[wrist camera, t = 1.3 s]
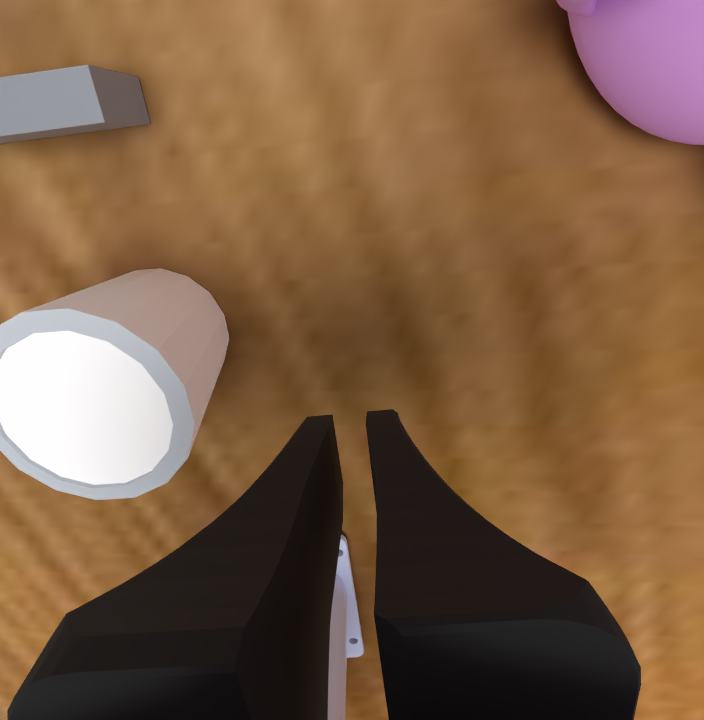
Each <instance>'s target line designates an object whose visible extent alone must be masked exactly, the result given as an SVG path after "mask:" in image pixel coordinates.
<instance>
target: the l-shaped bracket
mask: <svg viewBox="0 0 704 720" xmlns="http://www.w3.org/2000/svg"><path fill="white" fill-rule="evenodd" d="M147 124H150V120H149V116H148V112H147V108H146V105H145V101H144V97H143V93H142V89H141V85H140V81H139V78H138V77H136V76H132V75H128V74H124V73H119V72H115V71H111V70H107V69H103V68H99V67H95V66H91V65H83V66H76V67H69V68H62V69H55V70H48V71H41V72H34V73H27V74H20V75H13V76H6V77H0V144H4V143H12V142H19V141H27V140H34V139H42V138H49V137H57V136H65V135H72V134H80V133H87V132H95V131H102V130H110V129H117V128H125V127H132V126H140V125H147Z"/></svg>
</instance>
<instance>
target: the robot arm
mask: <svg viewBox="0 0 704 720" xmlns="http://www.w3.org/2000/svg"><path fill="white" fill-rule="evenodd" d="M366 429H367V437H368V445H369V453H370V461H371V470H372V478H373V486H374V494H375V502H376V511H377V555H376V585H375V605H374V617H375V624H376V631H377V638H378V646H379V653H380V660H381V667H382V674H383V681H384V688H385V695H386V702H387V709H388V717H389V720H634V715H635V710H636V705H637V701H638V696H639V691H640V686H641V667H640V665H639V663H638V661H637V659H636V657H635V654H634V652H633V650H632V648H631V646H630V644H629V641H628V640H627V638H626V636H625V634H624V633H623V631H622V629H621V628H620V626H619V624H618V623H617V621H616V620H615V618H614V617H613V615H612V614H611V613H610V611H609V610H608V608H607V607H606V605H605V604H604V602H603V601H602V600H601V598H600V597H599V595H598V594H597V593H596V591H595V590H594V588H593V587H592V586H591V584H590V583H589V582H588V581H587V580H586V579H584V578H582V577H580V576H578V575H576V574H574V573H572V572H570V571H568V570H567V569H565V568H563V567H561V566H559V565H557V564H555V563H553V562H551V561H549V560H547V559H545V558H544V557H542V556H540V555H538V554H536V553H535V552H533V551H531V550H530V549H528V548H527V547H525V546H523V545H522V544H520V543H519V542H517V541H515V540H514V539H512V538H511V537H509V536H508V535H506V534H505V533H504V532H502V531H501V530H500V529H498V528H497V527H496V526H494V525H493V524H491V523H490V522H489V521H487V520H486V519H485V518H483V517H482V516H481V515H480V514H479V513H477V512H476V511H475V510H474V509H473V508H472V507H470V506H469V505H468V504H467V503H466V502H465V501H464V500H463V499H462V498H460V497H459V496H458V495H457V494H456V493H455V492H454V491H453V490H452V489H451V488H450V487H449V486H448V485H447V484H446V483H445V482H444V481H443V479H442V478H441V477H440V476H439V475H438V474H437V473H436V471H435V470H434V469H433V468H432V467H431V466H430V464H429V463H428V462H427V461H426V459H425V458H424V457H423V455H422V454H421V453H420V451H419V450H418V449H417V447H416V446H415V445H414V443H413V442H412V440H411V439H410V437H409V435H408V434H407V432H406V430H405V429H404V427H403V425H402V423H401V421H400V419H399V416H398V413H397V412H395V411H394V410H393V409H391V410H380V411H368V412H367V417H366ZM342 523H343V480H342V474H341V467H340V461H339V454H338V448H337V441H336V435H335V428H334V422H333V415H323V416H312V417H307V418H306V419H305V420H304V421H303V423H302V424H301V425H300V427H299V428H298V429H297V431H296V432H295V433H294V435H293V436H292V438H291V439H290V440H289V441H288V443H287V444H286V445H285V447H284V448H283V449H282V451H281V452H280V453H279V454H278V456H277V457H276V458H275V459H274V460H273V462H272V463H271V464H270V465H269V467H268V468H267V469H266V470H265V471H264V472H263V474H262V475H261V476H260V477H259V478H258V479H257V480H256V481H255V482H254V483H253V485H252V486H251V487H250V488H249V489H248V490H247V491H246V492H245V493H244V494H243V495H242V496H241V497H240V498H239V499H238V500H237V501H236V502H235V503H234V504H233V505H231V506H230V507H229V508H228V509H227V510H226V511H225V512H224V513H222V514H221V515H220V516H219V517H218V518H217V519H216V520H214V521H213V522H212V523H211V524H209V525H208V526H207V527H205V528H204V529H203V530H202V531H200V532H199V533H198V534H196V535H195V536H194V537H192V538H191V539H190V540H188V541H187V542H186V543H184V544H183V545H182V546H181V547H179V548H178V549H176V550H175V551H173V552H172V553H170V554H169V555H168V556H166V557H165V558H163V559H162V560H160V561H159V562H157V563H156V564H154V565H152V566H151V567H149V568H148V569H146V570H144V571H143V572H141V573H140V574H138V575H136V576H135V577H133V578H131V579H130V580H128V581H126V582H124V583H123V584H121V585H119V586H117V587H116V588H114V589H112V590H110V591H108V592H106V593H104V594H103V595H101V596H99V597H97V598H95V599H93V600H92V601H90V602H88V603H86V604H84V605H82V606H80V607H79V608H77V609H75V610H73V611H71V612H69V613H67V614H66V615H65V617H64V618H63V620H62V621H61V623H60V624H59V626H58V627H57V629H56V630H55V632H54V633H53V635H52V636H51V638H50V640H49V641H48V643H47V644H46V646H45V648H44V649H43V651H42V653H41V654H40V656H39V658H38V659H37V661H36V662H35V664H34V666H33V667H32V669H31V671H30V672H29V674H28V675H27V677H26V679H25V680H24V682H23V684H22V685H21V687H20V689H19V690H18V692H17V693H16V695H15V697H14V699H13V701H12V703H11V705H10V707H9V709H8V711H7V712H8V720H345V704H346V672H347V658H351V657H359V656H361V655H362V654H363V653H364V645H363V639H362V632H361V626H360V620H359V614H358V607H357V601H356V595H355V589H354V582H353V576H352V570H351V564H350V557H349V551H348V545H347V540H346V538H345V537H344V536H343V535H341V531H342ZM339 550H341V551H339Z"/></svg>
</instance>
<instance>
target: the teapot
mask: <svg viewBox="0 0 704 720" xmlns="http://www.w3.org/2000/svg"><path fill="white" fill-rule="evenodd" d="M556 1H557V3H558V4H559V5H560V7H561V8H563V9H564V10H566V11H567V12H568V18H569V24H570V29H571V33H572V36H573V39H574V43H575V46H576V49H577V52H578V55H579V57H580V59H581V61H582V64H583V66H584V68H585V70H586V72H587V74H588V76H589V77H590V79H591V81H592V82H593V84H594V85H595V87H596V88H597V90H598V91H599V93H600V94H601V96H602V97H603V98H604V99H605V100H606V101H607V102H608V103H609V104H610V105H611V106H612V108H613V109H614V110H615V111H616V112H617V113H619V114H620V115H621V116H623V117H624V118H625V119H626V120H628V121H629V122H630V123H631V124H633V125H635V126H637V127H639V128H640V129H642V130H644V131H646V132H648V133H650V134H652V135H655V136H658V137H661V138H663V139H666V140H669V141H674V142H680V143H685V144H691V145H704V0H556Z"/></svg>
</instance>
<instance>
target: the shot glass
mask: <svg viewBox="0 0 704 720" xmlns="http://www.w3.org/2000/svg"><path fill="white" fill-rule="evenodd" d="M228 342H229V334H228V329H227V325H226V320H225V315H224V313H223V312H222V310H221V309H220V307H219V306H218V304H217V303H216V301H215V300H214V298H213V297H212V295H211V294H210V292H208V291H207V290H206V289H204V288H203V287H202V286H200V285H199V284H198V283H196V282H195V281H193V280H192V279H191V278H189V277H188V276H186V275H182V274H179V273H176V272H172V271H169V270H166V269H162V268H157V269H145V270H135V271H132V272H129V273H127V274H124V275H121V276H118V277H116V278H113V279H110V280H108V281H105V282H102V283H100V284H97V285H94V286H91V287H89V288H86V289H83V290H81V291H78V292H75V293H72V294H70V295H67V296H64V297H62V298H59V299H56V300H54V301H51V302H48V303H45V304H43V305H40V306H37V307H35V308H32V309H29V310H26V311H24V312H21V313H20V314H18V315H16V316H15V317H13V318H11V319H9V320H8V321H6V322H4V323H3V324H1V325H0V451H1V452H2V453H3V454H4V455H5V456H6V457H7V458H8V459H9V460H10V461H11V462H12V463H13V464H14V465H15V466H16V467H17V468H18V469H19V470H21V471H23V472H25V473H26V474H28V475H30V476H32V477H33V478H35V479H37V480H39V481H41V482H42V483H44V484H46V485H48V486H49V487H51V488H53V489H55V490H57V491H62V492H66V493H70V494H74V495H78V496H82V497H86V498H90V499H94V500H104V499H120V498H135V497H137V496H139V495H142V494H144V493H146V492H148V491H150V490H153V489H155V488H157V487H159V486H162V485H164V484H166V483H167V482H168V481H169V480H170V479H171V477H172V476H173V475H174V474H175V473H176V471H177V470H178V469H179V468H180V467H181V466H182V464H183V463H184V462H185V461H186V460H187V458H188V456H189V454H190V451H191V448H192V446H193V443H194V440H195V438H196V435H197V432H198V430H199V427H200V424H201V422H202V419H203V416H204V413H205V411H206V408H207V405H208V403H209V400H210V397H211V395H212V392H213V389H214V387H215V384H216V381H217V379H218V376H219V373H220V371H221V368H222V365H223V363H224V360H225V356H226V351H227V347H228Z"/></svg>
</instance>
